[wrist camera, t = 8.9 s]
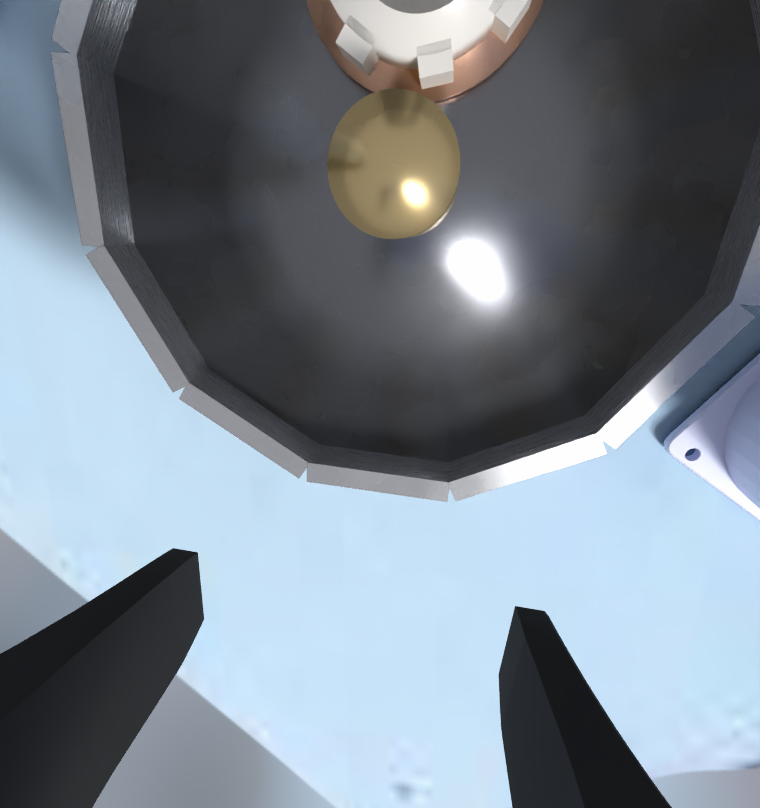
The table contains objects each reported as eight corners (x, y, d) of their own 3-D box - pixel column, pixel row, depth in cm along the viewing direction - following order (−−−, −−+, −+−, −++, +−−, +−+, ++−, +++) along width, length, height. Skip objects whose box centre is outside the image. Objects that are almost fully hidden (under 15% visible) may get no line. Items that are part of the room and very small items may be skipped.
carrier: (930, 70, 12) (1215, -26, 8) (463, 539, 20) (466, 631, 15) (309, -483, 11) (199, -1041, 6) (59, 266, 18) (-75, 277, 14)
